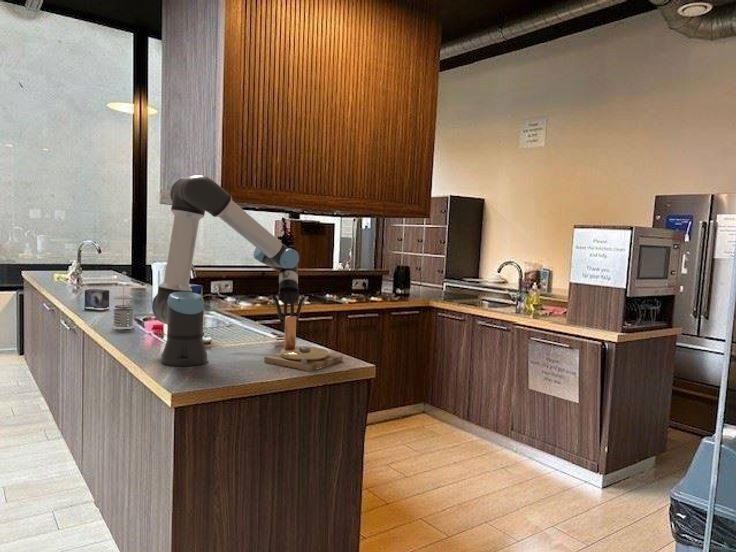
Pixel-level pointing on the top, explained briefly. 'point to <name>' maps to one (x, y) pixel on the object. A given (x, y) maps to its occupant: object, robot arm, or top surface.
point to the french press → (123, 311)
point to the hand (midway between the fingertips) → (288, 333)
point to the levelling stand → (302, 361)
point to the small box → (97, 298)
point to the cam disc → (295, 352)
